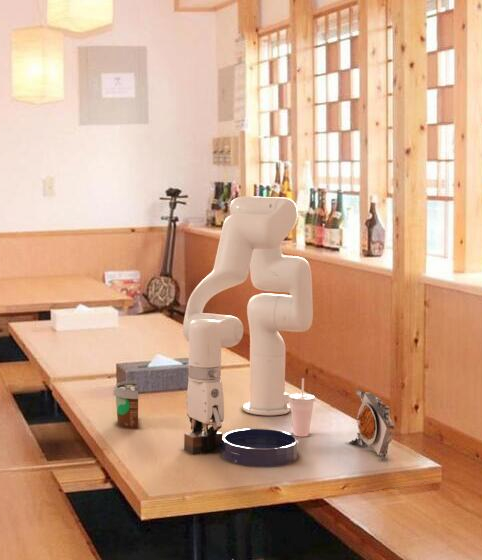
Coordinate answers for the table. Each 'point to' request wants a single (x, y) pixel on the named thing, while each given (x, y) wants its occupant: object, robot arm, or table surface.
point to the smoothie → (301, 412)
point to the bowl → (259, 447)
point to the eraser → (199, 442)
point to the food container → (127, 404)
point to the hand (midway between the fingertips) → (203, 448)
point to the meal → (373, 424)
